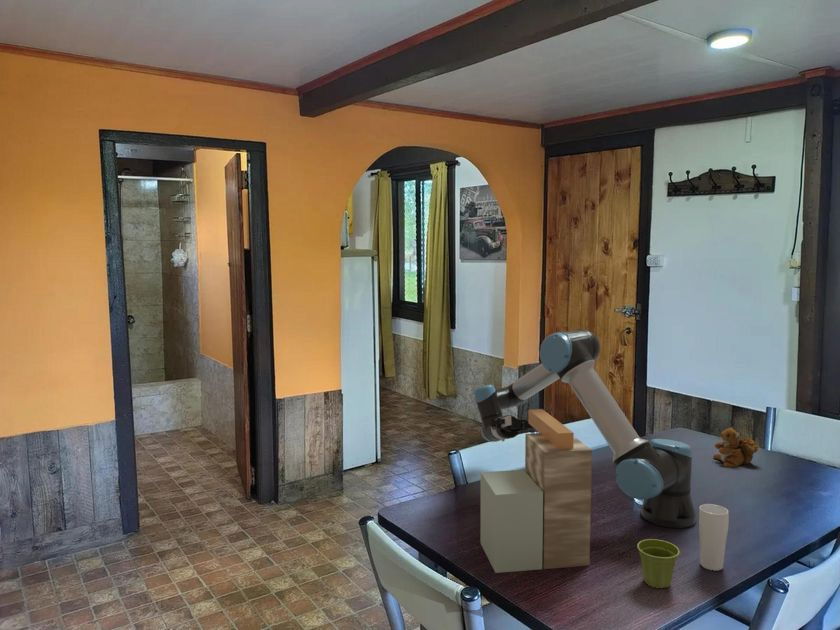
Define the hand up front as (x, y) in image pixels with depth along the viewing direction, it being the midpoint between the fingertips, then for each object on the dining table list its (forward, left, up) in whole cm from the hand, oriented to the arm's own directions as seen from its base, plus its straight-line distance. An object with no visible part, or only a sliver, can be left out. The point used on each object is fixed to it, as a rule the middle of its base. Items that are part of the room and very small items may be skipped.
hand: (531, 420), depth 189 cm
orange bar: (-12, +17, +2) cm, 21 cm away
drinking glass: (-52, +8, -28) cm, 60 cm away
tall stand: (-16, +21, -28) cm, 39 cm away
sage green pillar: (-6, +29, -28) cm, 41 cm away
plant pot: (-42, +23, -28) cm, 56 cm away
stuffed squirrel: (-48, -80, -29) cm, 98 cm away
